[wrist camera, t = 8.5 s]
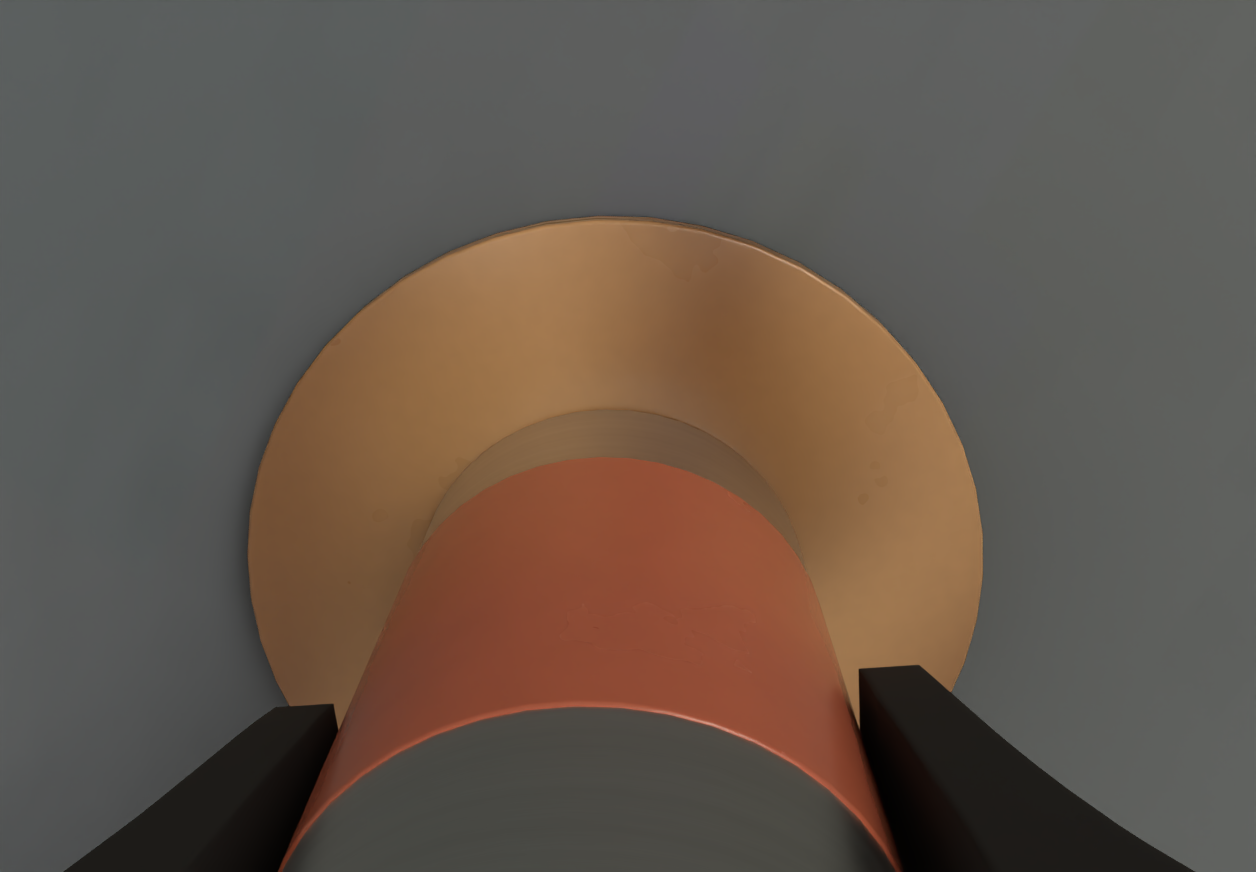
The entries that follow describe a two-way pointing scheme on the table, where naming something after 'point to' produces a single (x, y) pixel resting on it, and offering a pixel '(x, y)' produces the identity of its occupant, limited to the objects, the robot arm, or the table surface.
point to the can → (601, 678)
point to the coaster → (614, 380)
